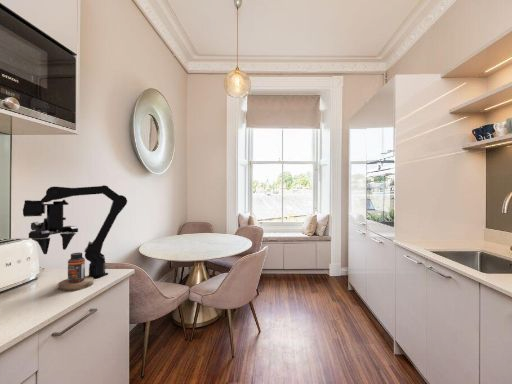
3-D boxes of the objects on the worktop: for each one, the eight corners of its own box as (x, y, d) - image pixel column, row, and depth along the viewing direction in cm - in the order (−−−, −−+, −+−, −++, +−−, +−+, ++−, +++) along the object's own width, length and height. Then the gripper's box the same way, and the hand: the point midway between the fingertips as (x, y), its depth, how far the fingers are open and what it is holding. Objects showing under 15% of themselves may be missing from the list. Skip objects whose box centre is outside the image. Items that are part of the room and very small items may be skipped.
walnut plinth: (75, 280, 116) (75, 275, 116) (100, 281, 114) (100, 276, 114) (50, 290, 104) (50, 285, 104) (77, 291, 102) (77, 286, 102)
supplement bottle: (65, 283, 105) (64, 255, 105) (71, 279, 111) (71, 252, 111) (81, 282, 107) (81, 254, 107) (87, 277, 113) (87, 251, 113)
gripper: (57, 213, 124) (57, 246, 124) (16, 217, 106) (16, 256, 106) (79, 214, 123) (79, 247, 123) (40, 217, 104) (40, 257, 104)
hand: (55, 251), depth 114 cm, fingers open, 9 cm apart
